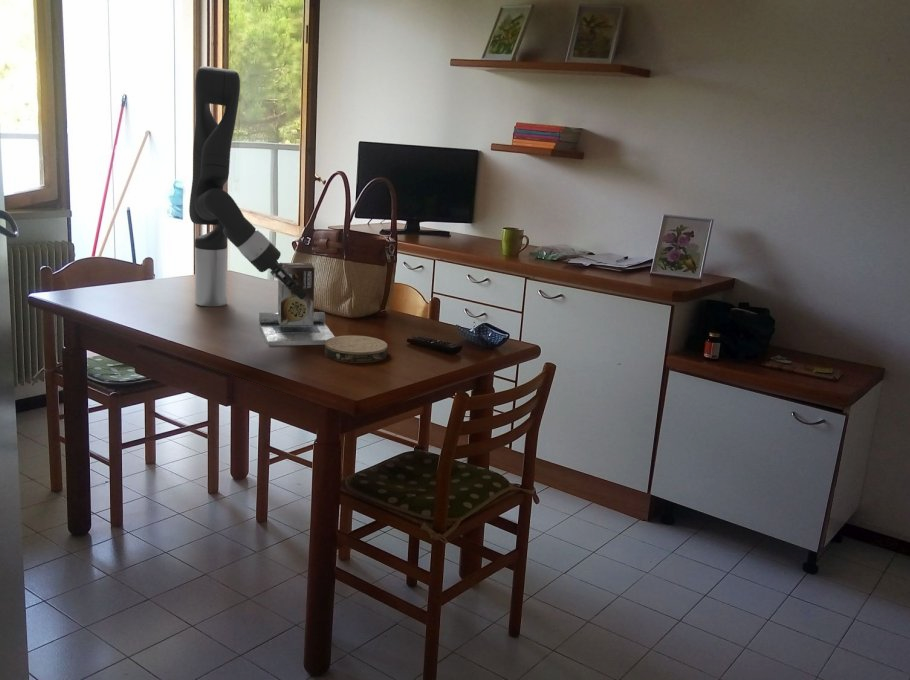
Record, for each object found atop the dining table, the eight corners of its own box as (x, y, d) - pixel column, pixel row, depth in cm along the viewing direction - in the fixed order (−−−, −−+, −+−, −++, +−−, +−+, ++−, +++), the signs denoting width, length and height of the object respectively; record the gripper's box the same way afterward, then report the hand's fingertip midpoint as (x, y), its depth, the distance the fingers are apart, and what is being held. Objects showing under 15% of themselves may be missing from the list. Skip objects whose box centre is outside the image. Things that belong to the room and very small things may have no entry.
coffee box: (310, 319, 233) (312, 262, 228) (313, 325, 227) (315, 267, 222) (276, 319, 230) (278, 262, 225) (279, 325, 224) (281, 266, 220)
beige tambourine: (343, 343, 224) (344, 332, 223) (397, 352, 218) (397, 341, 217) (312, 356, 209) (312, 345, 208) (369, 367, 204) (369, 356, 203)
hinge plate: (258, 326, 233) (259, 311, 232) (322, 325, 239) (323, 311, 238) (268, 345, 215) (268, 330, 213) (337, 344, 221) (337, 328, 220)
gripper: (272, 245, 213) (317, 290, 220) (265, 236, 226) (307, 279, 233) (251, 265, 213) (296, 310, 220) (245, 255, 226) (288, 298, 233)
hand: (301, 294), depth 227 cm, fingers closed on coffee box, 6 cm apart
